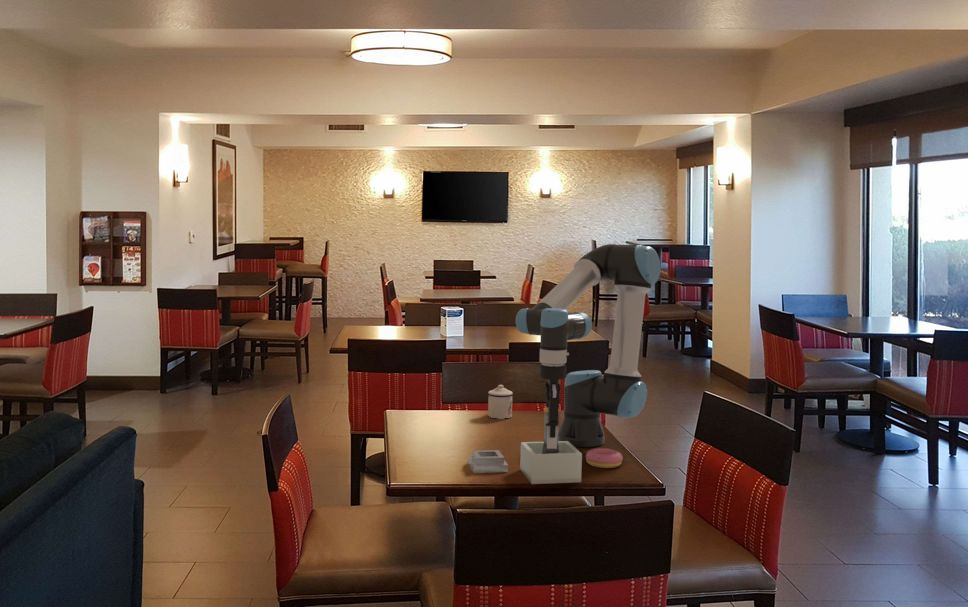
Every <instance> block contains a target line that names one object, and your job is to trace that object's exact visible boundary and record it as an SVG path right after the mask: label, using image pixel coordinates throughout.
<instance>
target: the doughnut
mask: <svg viewBox="0 0 968 607" xmlns="http://www.w3.org/2000/svg"><path fill="white" fill-rule="evenodd" d="M585 458H586V459H585V461H586V463H587V464H588V465H590V466H592V467H595V468H598V469H599V468H600V469H613V468H618V467H619V466H621V464H622V463H623V455H622V453H621V452H620V451H619V450H616V449H612V448H607V447H606V448H605V447H603V448H602V447H599V448H597V447H596V448H593V449H590V450H589V451H587V452H586V455H585Z"/></svg>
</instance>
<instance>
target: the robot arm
mask: <svg viewBox="0 0 968 607" xmlns="http://www.w3.org/2000/svg"><path fill="white" fill-rule="evenodd" d="M660 275H661V261H660V257H659V255H658V253H657V251H656V250H655V249H654V248H653V247H651V246H647V245H642V244H615V243H611V244H610V243H609V244H604V245H601V246H598V247H596V248H594V249H592V250H590V251H589V252H587V253H585V254H584V255H583V256H581V258H580V259H578V260H577V261H576V262H575V264H574V265H573V269H572V270H571V271H570V272H569V273H568V274H567V275H566V276H564V277H563V279H562V280H561V281H560V282H558V283H557V285H555V286H554V287H553V288H552V289H551V290H550V291H549V292H548V293H547V294H546V295H545V296H544V297H543V298H542V299H541V300H539V302H537V304H535V305H534V306H533V307H532V308H529V307H527V308H521V309H520V310H518V312H517V313H516V316H515V326H516V329H517V330H518V332H519V333H522V334H524V335H525V334H526V335H529V336H531V335H532V336H540V347H539V362H540V365H539V378H541V379H544V380H547V381H546V382H545V384H544V389H545V407H548V424H546V426H547V449H557V425H558V409H559V408H560V406H559V405H560V404H559V402H560V393H561V385H560V383H559V382H558V381H559V380H564V386H563V388H564V391H563V393H564V394H563V396H564V399H563V417H562V418H563V419H562V421H561V423H560V427H559V428H558V441H568V442H570V443H571V444H572V445H573V446H574V447H575V448H577V447H580V448H591V447H600V446H602V445H604V444H605V439H606V438H605V433H604V429H603V426H602V423H601V422H602V421H601V418H600V417H601V415H602V414H603V415H609V416H614V417H619V418H628V419H633V418H635V417H637V416H639V415H640V413H641V412H642V411H643V409H644V407H645V405H646V401H647V397H648V389H647V385H646V383H644V382H643V381H642V374H641V373H640V372H639V370H638V365H639V356H640V346H641V337H642V329H643V328H642V327H643V321H644V320H643V319H644V313H645V312H644V311H645V301H646V294H648V293H649V292H650V291H651V290H652V284H653V285H654V284H655V283H657V282H658V281H659V279H660ZM602 281H613V282H614V283H613V287H614V288H615V290H616V291H617V299H616V307H615V317H614V323H613V324H614V326H613V333H612V334H613V336H612V342H611V343H612V345H611V352H610V362H609V363H610V364H609V366H608V368H607V369H606V370H605V371H604V374H602V372H601V371H600V370H597V369H596V370H595V369H591V370H590V369H588V370H578V371H577V370H576V371H571V372H568V373H567V367H568V366H567V365H566V363H567V360H568V359H567V358H568V356H570V353H569V351H568V341H573V340H580V339H583V338H586V337H587V336H588V335H589V334H590V333H591V331H592V329H593V328H592V327H593V322H592V319H591V317H590V316H589V315H588V314H587V313H586V312H583V311H575V312H574V311H573V312H569V311H568V309H569V308H570V307H571V306H573V304H574V303H575V302H576V301H578V299H579V298H580V297H581V296H582V295H584V293H585V292H586V291H587V290H588V289H590V287H594V286H596V285H598V284H599V283H600V282H602ZM602 375H603V376H602ZM558 426H559V425H558Z"/></svg>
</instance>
